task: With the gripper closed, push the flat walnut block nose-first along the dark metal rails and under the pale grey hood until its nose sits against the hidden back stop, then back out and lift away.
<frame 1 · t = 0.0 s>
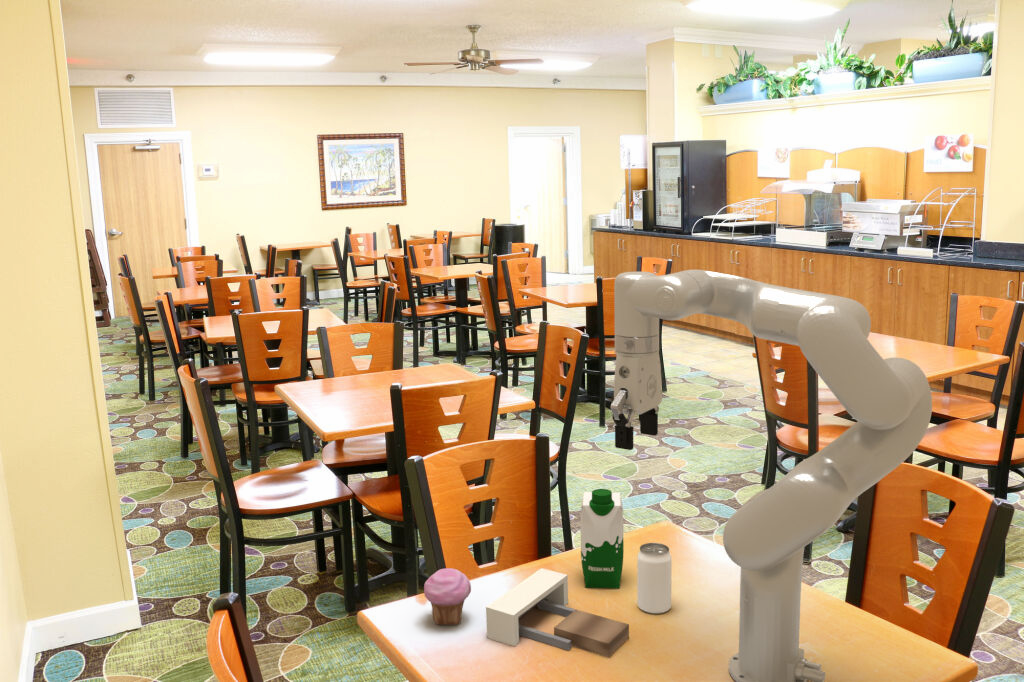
hand: (636, 441, 151), 37 cm above the table, tool pointing down, fingers open, 9 cm apart
milk carton: (602, 581, 180), on the table
cupcake: (448, 621, 165), on the table
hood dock: (549, 626, 162), on the table
can: (654, 607, 168), on the table
walnut tile: (591, 641, 157), on the table
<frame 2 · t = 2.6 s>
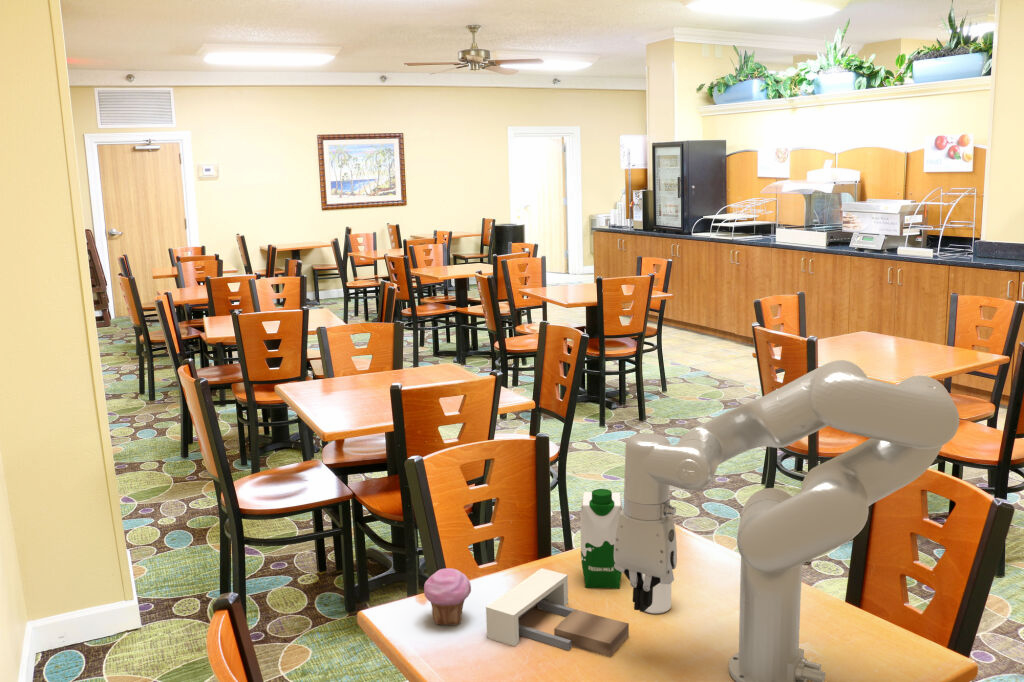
hand: (642, 607, 149), 9 cm above the table, tool pointing down, fingers closed
nothing on the table moved.
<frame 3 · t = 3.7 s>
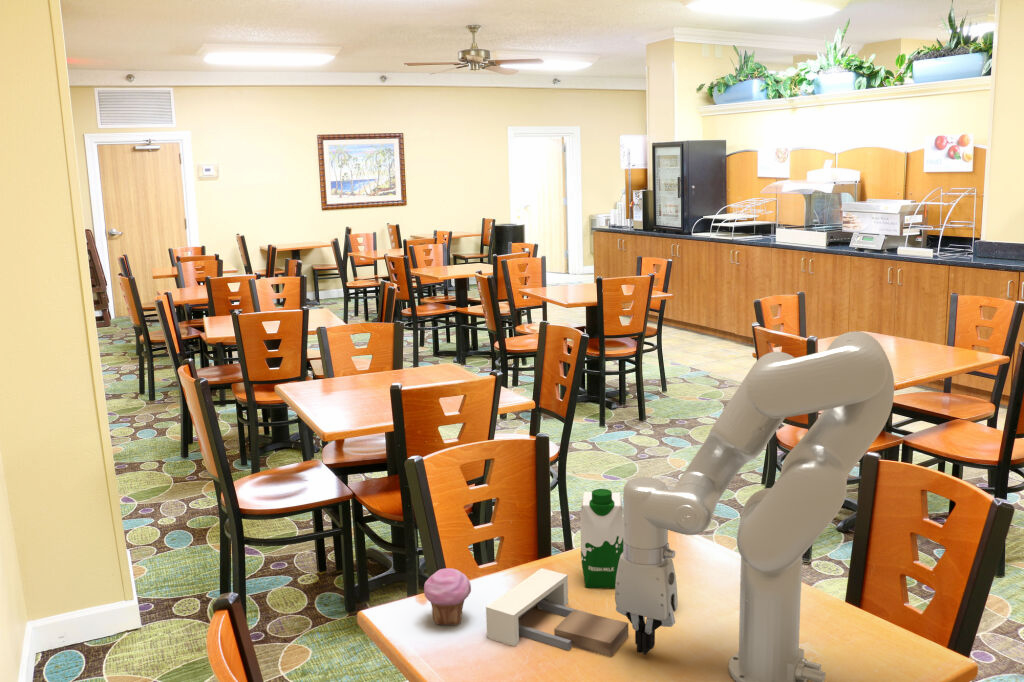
hand: (644, 649, 151), 1 cm above the table, tool pointing down, fingers closed
nothing on the table moved.
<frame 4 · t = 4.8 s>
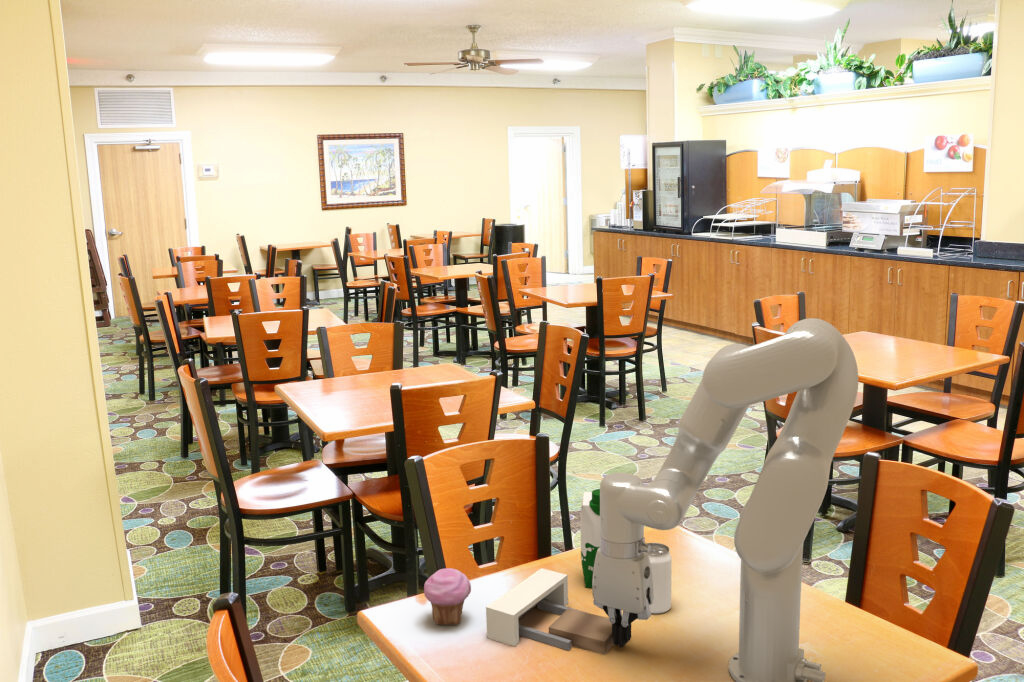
hand: (621, 642, 153), 1 cm above the table, tool pointing down, fingers closed
walnut tile: (585, 639, 157), on the table
everything else where it was.
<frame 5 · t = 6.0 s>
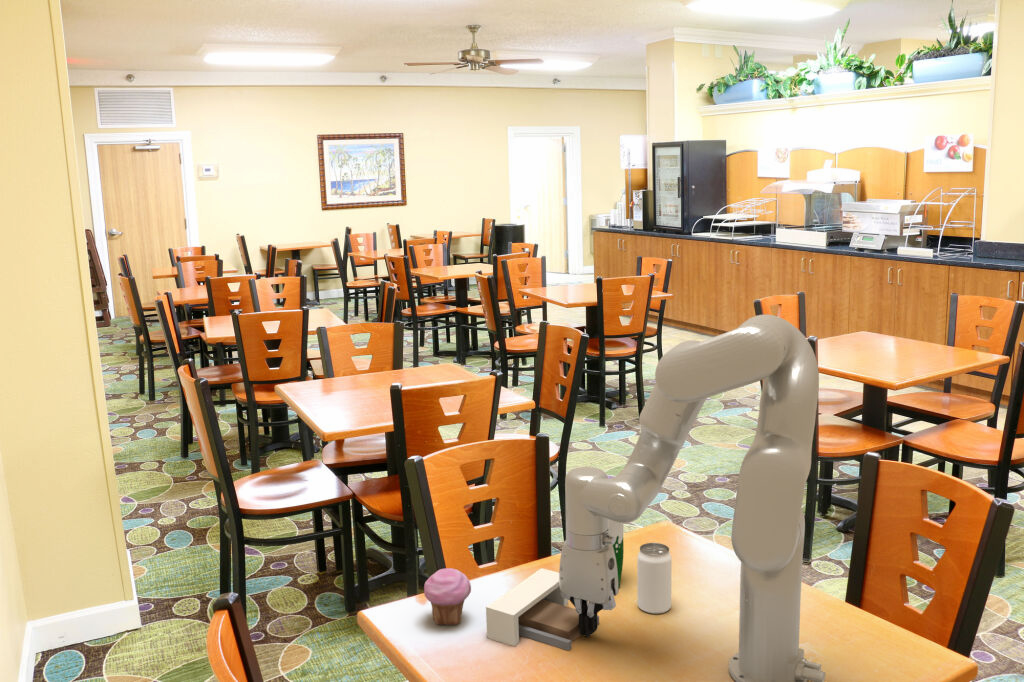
hand: (588, 632, 157), 1 cm above the table, tool pointing down, fingers closed
walnut tile: (555, 629, 161), on the table
everything else where it was.
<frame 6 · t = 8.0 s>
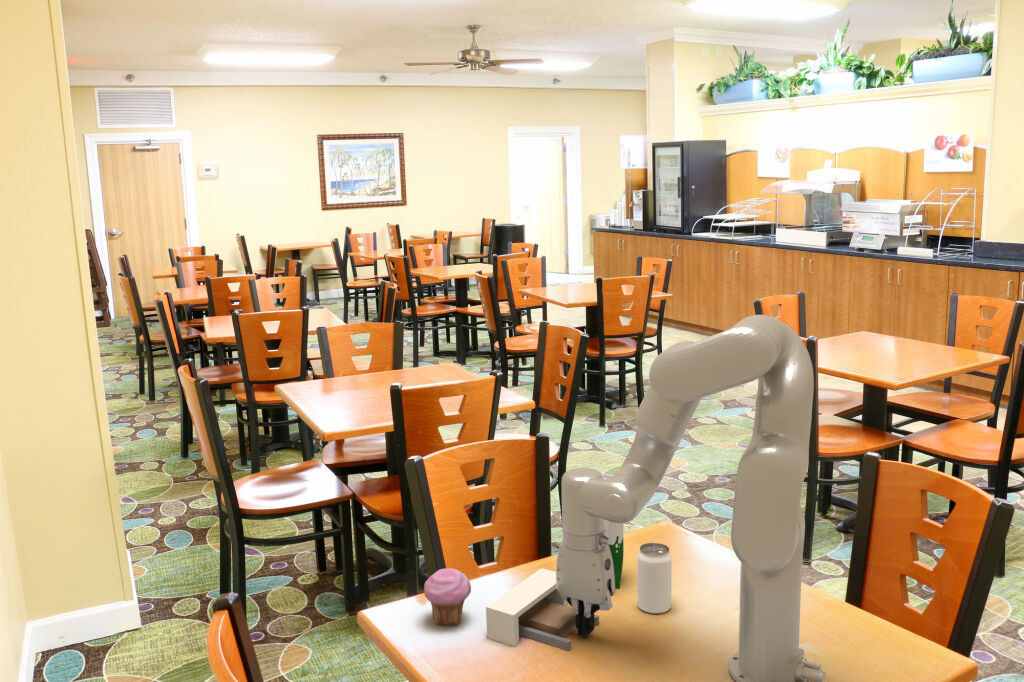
hand: (585, 633, 157), 1 cm above the table, tool pointing down, fingers closed
walnut tile: (545, 626, 162), on the table
everything else where it was.
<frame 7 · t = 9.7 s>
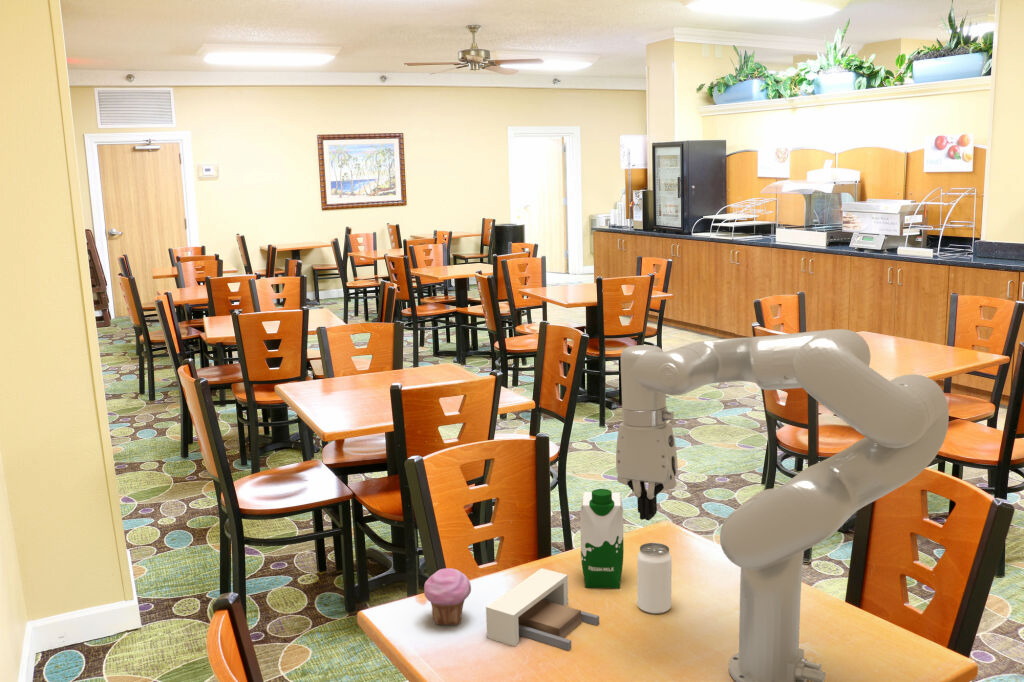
hand: (647, 517, 153), 23 cm above the table, tool pointing down, fingers closed
nothing on the table moved.
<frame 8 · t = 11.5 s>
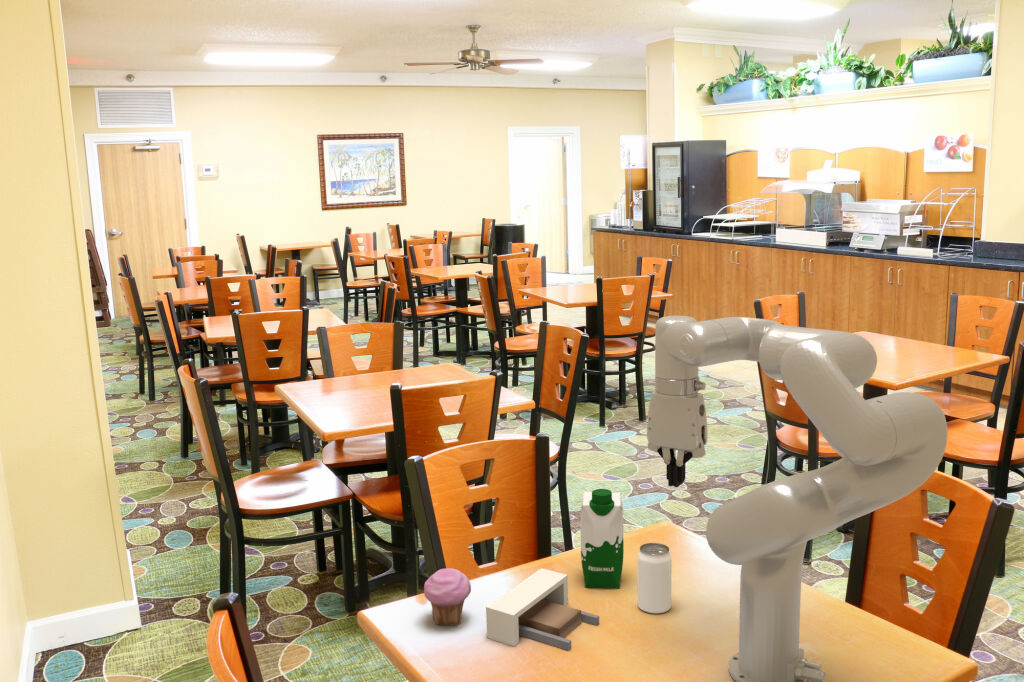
hand: (675, 484, 157), 27 cm above the table, tool pointing down, fingers closed
nothing on the table moved.
at the end: walnut tile 0.1 cm from the target spot, on the table; walnut tile tilted 0°; walnut tile moved 10.0 cm from its start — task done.
